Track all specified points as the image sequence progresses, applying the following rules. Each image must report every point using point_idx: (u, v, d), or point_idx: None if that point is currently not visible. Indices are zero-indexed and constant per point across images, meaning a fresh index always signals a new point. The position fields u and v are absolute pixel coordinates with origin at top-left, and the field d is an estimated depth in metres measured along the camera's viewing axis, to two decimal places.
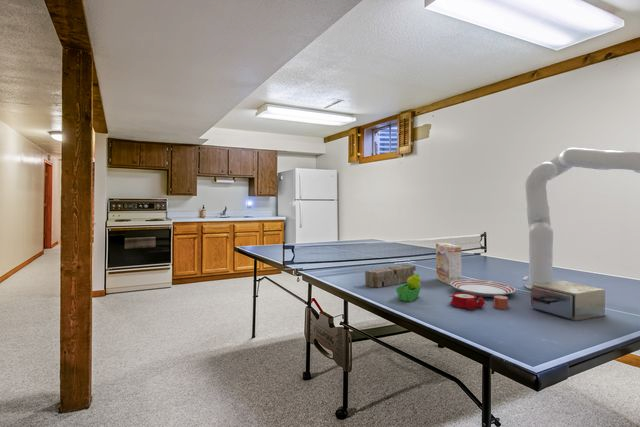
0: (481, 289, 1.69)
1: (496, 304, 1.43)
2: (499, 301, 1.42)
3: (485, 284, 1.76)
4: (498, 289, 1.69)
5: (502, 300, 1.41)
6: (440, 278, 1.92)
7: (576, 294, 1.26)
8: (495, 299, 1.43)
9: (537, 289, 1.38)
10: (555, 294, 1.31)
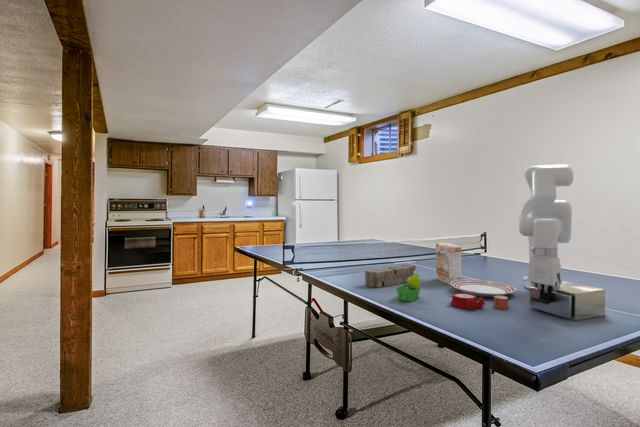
0: (481, 289, 1.69)
1: (496, 304, 1.43)
2: (499, 301, 1.42)
3: (485, 284, 1.76)
4: (498, 289, 1.69)
5: (502, 300, 1.41)
6: (440, 278, 1.92)
7: (576, 294, 1.26)
8: (495, 299, 1.43)
9: (536, 289, 1.38)
10: (554, 294, 1.31)
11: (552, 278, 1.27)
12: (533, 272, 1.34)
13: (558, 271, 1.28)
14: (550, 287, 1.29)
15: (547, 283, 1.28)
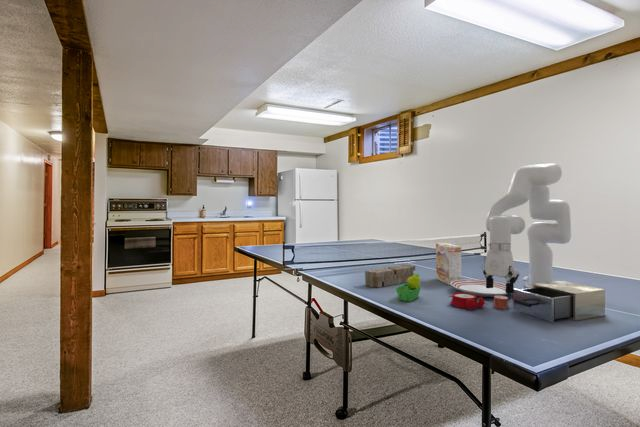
0: (481, 289, 1.69)
1: (496, 304, 1.43)
2: (499, 301, 1.42)
3: (485, 284, 1.76)
4: (498, 289, 1.69)
5: (502, 300, 1.41)
6: (440, 278, 1.92)
7: (576, 294, 1.26)
8: (495, 299, 1.43)
9: (519, 291, 1.35)
10: (537, 297, 1.28)
11: (504, 270, 1.38)
12: (489, 265, 1.44)
13: (510, 264, 1.38)
14: (513, 278, 1.36)
15: (500, 275, 1.39)
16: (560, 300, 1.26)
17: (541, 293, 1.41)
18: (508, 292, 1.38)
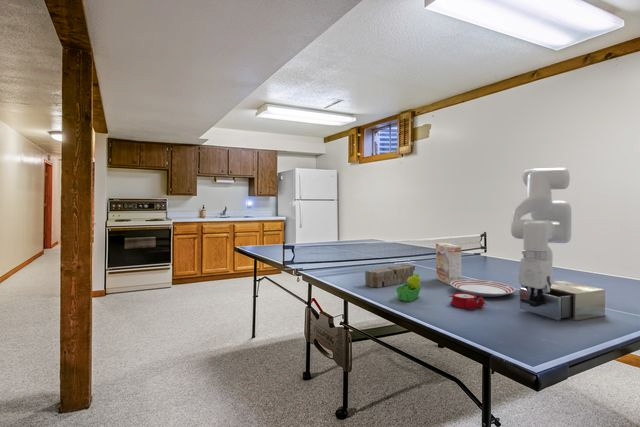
0: (481, 289, 1.69)
1: None
2: None
3: (485, 284, 1.76)
4: (498, 289, 1.69)
5: None
6: (440, 278, 1.92)
7: (576, 294, 1.26)
8: None
9: (526, 290, 1.36)
10: (543, 296, 1.29)
11: (542, 281, 1.25)
12: (523, 275, 1.32)
13: (548, 274, 1.26)
14: (540, 290, 1.28)
15: (537, 286, 1.27)
16: (567, 299, 1.27)
17: None
18: None
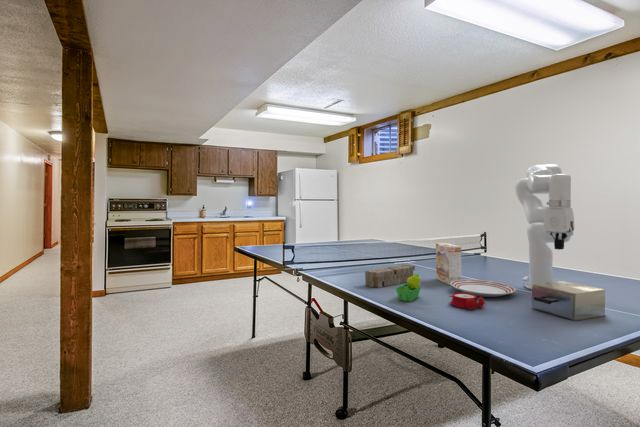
0: (481, 289, 1.69)
1: None
2: None
3: (485, 284, 1.76)
4: (498, 289, 1.69)
5: None
6: (440, 278, 1.92)
7: (576, 294, 1.26)
8: None
9: (538, 289, 1.38)
10: (556, 294, 1.31)
11: (566, 225, 1.43)
12: (548, 222, 1.50)
13: (571, 219, 1.44)
14: (564, 234, 1.46)
15: (561, 230, 1.45)
16: None
17: None
18: (559, 248, 1.48)
